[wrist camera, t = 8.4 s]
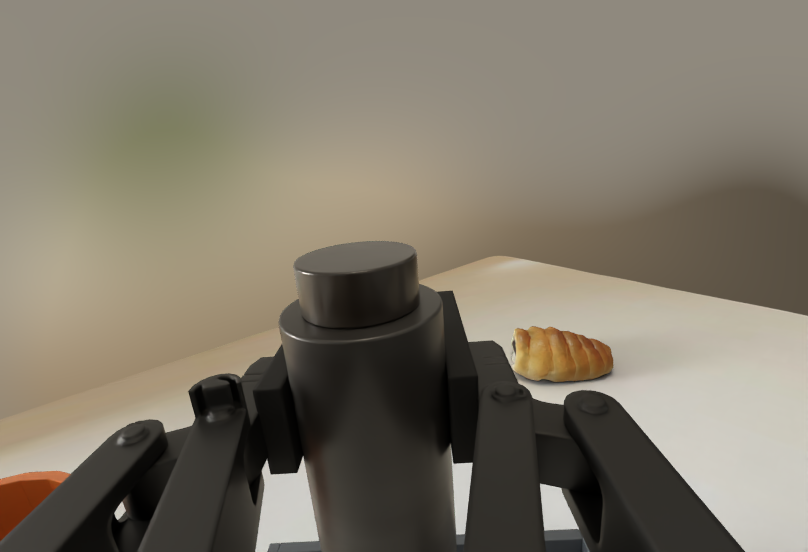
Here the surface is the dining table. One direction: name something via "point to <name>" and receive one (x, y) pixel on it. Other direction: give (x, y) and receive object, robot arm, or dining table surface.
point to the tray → (561, 545)
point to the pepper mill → (371, 399)
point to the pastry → (558, 355)
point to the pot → (24, 496)
